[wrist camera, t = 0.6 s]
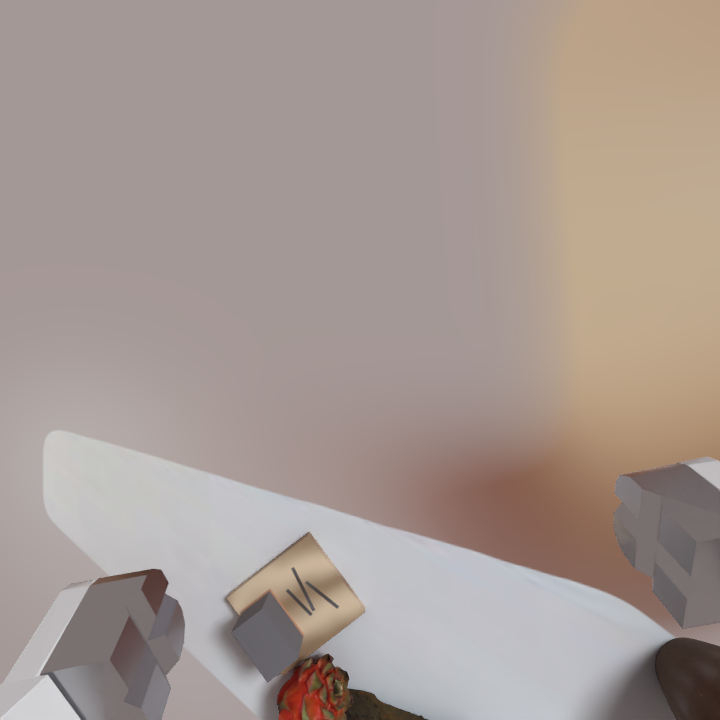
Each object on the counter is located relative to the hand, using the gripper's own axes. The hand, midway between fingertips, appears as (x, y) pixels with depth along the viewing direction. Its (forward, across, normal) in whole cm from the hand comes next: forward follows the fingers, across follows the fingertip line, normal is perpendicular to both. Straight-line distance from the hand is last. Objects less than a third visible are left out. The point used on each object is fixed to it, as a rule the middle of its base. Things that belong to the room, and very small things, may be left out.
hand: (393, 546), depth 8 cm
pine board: (+36, -14, -43) cm, 58 cm away
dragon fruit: (+31, -13, -53) cm, 63 cm away
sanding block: (+34, -17, -44) cm, 58 cm away
